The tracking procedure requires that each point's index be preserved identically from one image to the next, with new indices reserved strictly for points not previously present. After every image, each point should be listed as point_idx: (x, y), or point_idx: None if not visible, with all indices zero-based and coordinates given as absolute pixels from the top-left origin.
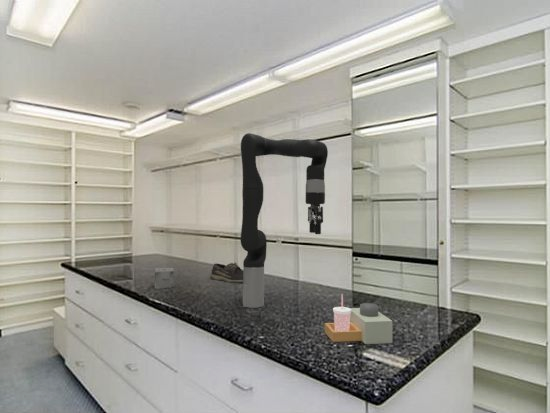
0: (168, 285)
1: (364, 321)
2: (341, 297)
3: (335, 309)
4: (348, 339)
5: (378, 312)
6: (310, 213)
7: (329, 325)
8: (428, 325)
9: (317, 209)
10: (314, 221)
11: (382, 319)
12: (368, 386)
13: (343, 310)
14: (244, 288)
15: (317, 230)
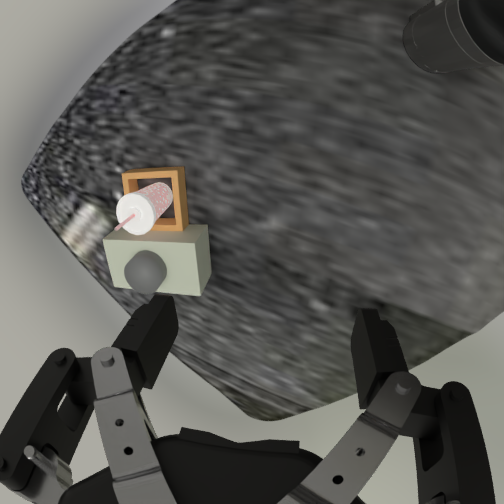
0: None
1: (106, 239)
2: (120, 223)
3: (134, 199)
4: None
5: (162, 290)
6: (294, 491)
7: (161, 177)
8: (216, 356)
9: (2, 449)
10: (126, 372)
11: (119, 275)
12: (25, 181)
13: (127, 215)
14: (431, 3)
15: (134, 320)
